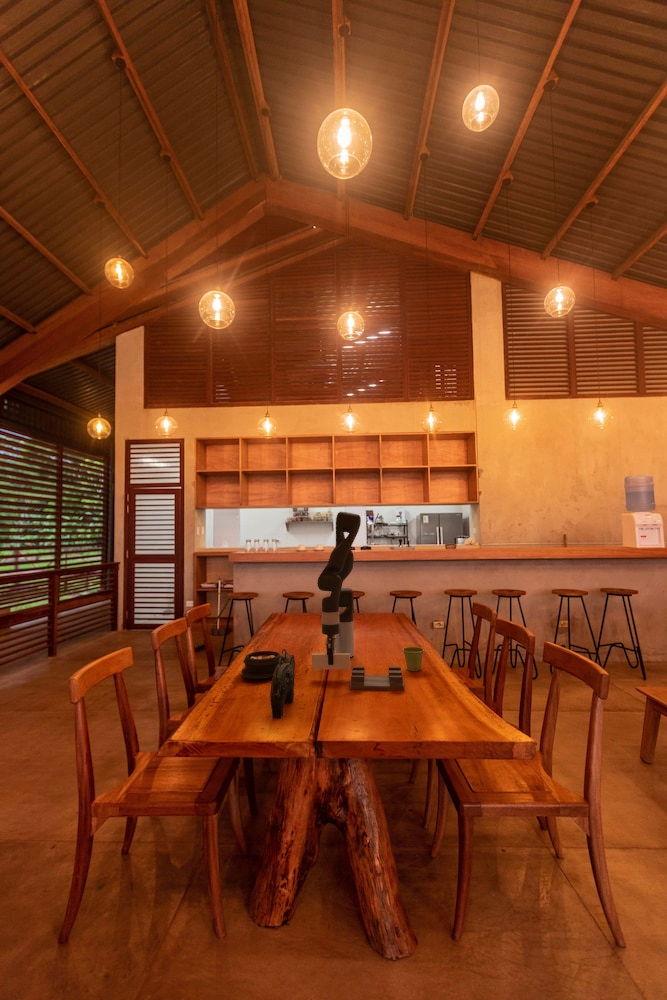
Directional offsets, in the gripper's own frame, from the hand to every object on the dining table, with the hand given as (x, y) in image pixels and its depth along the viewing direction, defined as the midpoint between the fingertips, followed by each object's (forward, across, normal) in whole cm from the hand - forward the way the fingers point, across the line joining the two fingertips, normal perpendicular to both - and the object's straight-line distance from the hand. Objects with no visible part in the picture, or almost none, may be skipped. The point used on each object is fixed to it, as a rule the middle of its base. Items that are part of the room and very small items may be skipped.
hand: (331, 663), depth 199 cm
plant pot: (+6, +14, -35) cm, 39 cm away
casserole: (+7, +5, +31) cm, 32 cm away
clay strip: (+2, 0, 0) cm, 2 cm away
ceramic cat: (+6, -34, +13) cm, 37 cm away
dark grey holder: (+6, -7, -19) cm, 21 cm away
